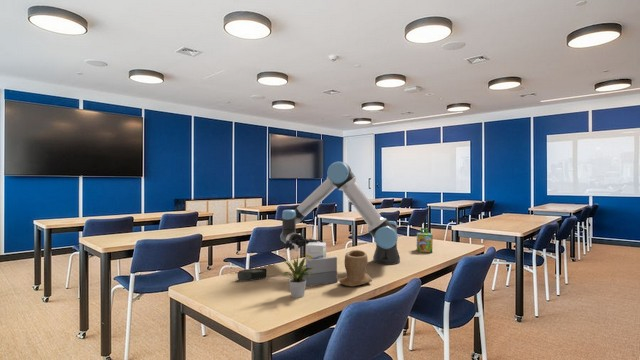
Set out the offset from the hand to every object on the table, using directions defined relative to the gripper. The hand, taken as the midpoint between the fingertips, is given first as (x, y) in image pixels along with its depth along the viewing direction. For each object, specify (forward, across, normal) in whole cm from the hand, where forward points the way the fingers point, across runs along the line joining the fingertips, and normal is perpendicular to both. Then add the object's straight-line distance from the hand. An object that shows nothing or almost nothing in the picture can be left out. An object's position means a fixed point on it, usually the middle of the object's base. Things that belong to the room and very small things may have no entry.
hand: (310, 247), depth 167 cm
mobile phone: (-7, +27, -14) cm, 32 cm away
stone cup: (+21, -14, -14) cm, 29 cm away
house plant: (+24, +17, -14) cm, 33 cm away
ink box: (+6, 0, -9) cm, 11 cm away
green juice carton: (-22, -90, -14) cm, 94 cm away
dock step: (+6, 0, -14) cm, 15 cm away
